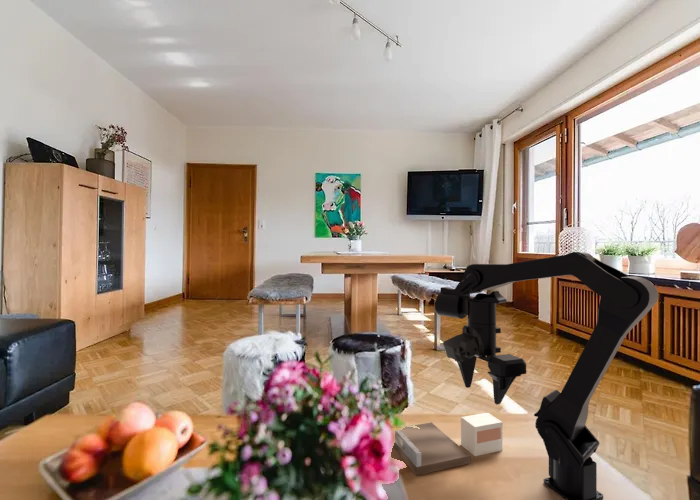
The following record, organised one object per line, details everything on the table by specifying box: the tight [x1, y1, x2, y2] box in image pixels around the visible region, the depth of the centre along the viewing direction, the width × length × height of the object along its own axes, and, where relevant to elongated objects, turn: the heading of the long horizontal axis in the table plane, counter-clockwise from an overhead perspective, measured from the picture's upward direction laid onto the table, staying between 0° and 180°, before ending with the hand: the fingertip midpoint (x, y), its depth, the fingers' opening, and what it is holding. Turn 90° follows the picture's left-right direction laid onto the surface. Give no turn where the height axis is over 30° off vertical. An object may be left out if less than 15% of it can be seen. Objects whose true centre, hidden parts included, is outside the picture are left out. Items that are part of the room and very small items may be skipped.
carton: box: [460, 412, 503, 457], centre depth 73 cm, size 5×7×6 cm, turn 109°
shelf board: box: [392, 421, 471, 476], centre depth 71 cm, size 14×12×4 cm
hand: (481, 395), depth 73 cm, fingers open, 9 cm apart
